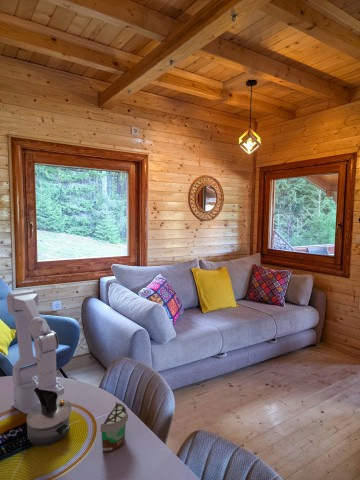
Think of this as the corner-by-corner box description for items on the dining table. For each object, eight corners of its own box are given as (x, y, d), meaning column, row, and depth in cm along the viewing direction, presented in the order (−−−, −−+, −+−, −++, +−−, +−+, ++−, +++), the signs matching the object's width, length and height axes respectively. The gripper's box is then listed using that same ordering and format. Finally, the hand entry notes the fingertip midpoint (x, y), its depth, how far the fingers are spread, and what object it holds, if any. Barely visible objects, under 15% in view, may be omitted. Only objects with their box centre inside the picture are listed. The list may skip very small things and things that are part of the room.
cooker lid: (17, 419, 104) (16, 407, 104) (54, 396, 116) (53, 385, 115) (43, 436, 97) (42, 422, 96) (80, 409, 109) (79, 397, 108)
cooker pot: (14, 433, 106) (14, 418, 105) (49, 412, 117) (48, 399, 116) (48, 455, 96) (47, 440, 96) (82, 430, 107) (82, 417, 107)
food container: (119, 459, 95) (119, 428, 94) (100, 456, 96) (100, 425, 96) (133, 431, 107) (133, 403, 106) (116, 428, 108) (116, 401, 108)
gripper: (71, 370, 104) (72, 409, 105) (44, 359, 112) (45, 396, 113) (52, 380, 98) (53, 421, 99) (25, 367, 106) (26, 406, 107)
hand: (48, 408), depth 106 cm, fingers closed on cooker lid, 2 cm apart
